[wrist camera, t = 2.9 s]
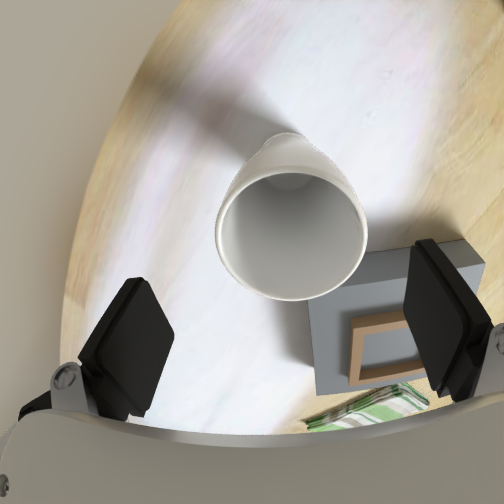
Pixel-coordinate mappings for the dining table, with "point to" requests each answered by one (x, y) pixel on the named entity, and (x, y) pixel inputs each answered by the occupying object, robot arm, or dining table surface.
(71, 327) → the dining table surface
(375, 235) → the dining table surface
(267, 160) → the white tapered cylinder
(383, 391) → the dish towel
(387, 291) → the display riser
